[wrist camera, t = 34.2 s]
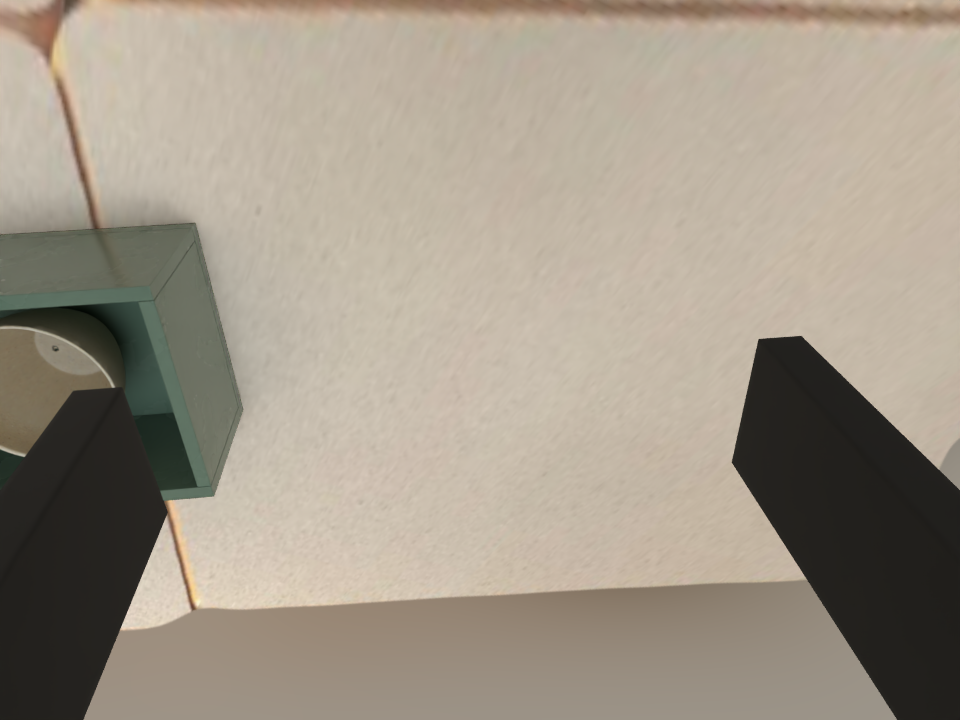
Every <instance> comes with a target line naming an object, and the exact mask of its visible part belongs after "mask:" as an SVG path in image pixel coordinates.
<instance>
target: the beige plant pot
mask: <svg viewBox="0 0 960 720" xmlns="http://www.w3.org/2000/svg"><path fill="white" fill-rule="evenodd" d="M55 349H58V350H57V351H55ZM125 386H126V379H125V368H124V362H123V358H122V355H121V351H120V348H119V346H118V344H117V342H116V340H115V338H114V336H113V335H112V333H111V332H110V331H109V329H108V328H107V327H106V326H105V325H104V324H103V323H102V322H101V321H99V320H98V319H96V318H95V317H93V316H91V315H89V314H87V313H84V312H81V311H77V310H72V309H63V308H43V309H34V310H28V311H23V312H19V313H15V314H11V315H8V316H5V317H2V318H0V449H1V450H3V451H6V452H8V453H11V454H15V455H18V456H22V457H25V456H26V454H27V453H28V452H29V450H30V449H31V448H32V446H33V445H34V443H35V442H36V441H37V439H38V438H39V437H40V435H41V434H42V433H43V431H44V430H45V428H46V427H47V426H48V424H49V423H50V422H51V420H52V419H53V417H54V416H55V415H56V413H57V412H58V411H59V409H60V408H61V407H62V405H63V404H64V402H65V401H66V400H67V398H68V397H69V396H70V394H71V393H72V392H73V391H75V390H88V389H102V388H115V387H123V390H124V393H125Z"/></svg>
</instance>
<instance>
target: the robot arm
mask: <svg viewBox="0 0 960 720" xmlns="http://www.w3.org/2000/svg"><path fill="white" fill-rule="evenodd" d="M732 464H733V465H734V467H735V468H736V470H737V471H738V473H739V474H740V476H741V478H742V479H743V481H744V482H745V484H746V485H747V487H748V488H749V490H750V492H751V493H752V495H753V496H754V498H755V499H756V501H757V502H758V504H759V506H760V507H761V509H762V510H763V512H764V513H765V515H766V516H767V518H768V520H769V521H770V523H771V524H772V526H773V527H774V529H775V530H776V532H777V534H778V535H779V537H780V538H781V540H782V541H783V543H784V544H785V546H786V548H787V549H788V551H789V552H790V554H791V555H792V557H793V558H794V560H795V562H796V563H797V565H798V566H799V568H800V569H801V571H802V572H803V574H804V576H805V577H806V579H807V580H808V582H809V583H810V585H811V586H812V588H813V590H814V591H815V593H816V594H817V596H818V597H819V599H820V600H821V602H822V604H823V605H824V606H825V608H826V610H827V611H828V613H829V614H830V616H831V618H832V619H833V621H834V622H835V624H836V625H837V627H838V628H839V630H840V632H841V633H842V634H843V636H844V638H845V639H846V641H847V642H848V644H849V646H850V647H851V649H852V650H853V652H854V653H855V655H856V656H857V658H858V660H859V661H860V663H861V664H862V666H863V667H864V669H865V670H866V672H867V673H868V675H869V677H870V678H871V680H872V681H873V683H874V684H875V686H876V687H877V689H878V690H879V692H880V694H881V695H882V697H883V698H884V700H885V701H886V703H887V705H888V706H889V708H890V709H891V711H892V712H893V714H894V715H895V717H896V718H897V720H960V490H959V489H958V488H957V487H956V486H955V485H954V484H953V483H952V482H951V481H950V480H949V479H948V478H947V477H946V476H945V475H944V474H943V473H942V472H941V471H940V470H938V469H937V468H936V467H935V466H934V465H933V464H932V463H931V462H930V461H929V460H928V459H927V458H926V457H925V456H924V455H923V454H922V453H921V452H920V451H919V450H918V449H917V448H916V447H915V446H914V445H913V444H912V443H911V442H910V441H909V440H908V439H907V438H906V437H905V436H904V435H902V434H901V433H900V432H899V431H898V430H897V429H896V428H895V427H894V426H893V425H892V424H891V423H890V422H889V421H888V420H887V419H886V418H885V417H884V416H883V415H882V414H881V413H880V412H879V411H878V410H877V409H876V408H875V407H874V406H873V405H872V404H871V403H870V402H869V401H868V400H866V399H865V398H864V397H863V396H862V395H861V394H860V393H859V392H858V391H857V390H856V389H855V388H854V387H853V386H852V385H851V384H850V383H849V382H848V381H847V380H846V379H845V378H844V377H843V376H842V375H841V374H840V373H839V372H838V371H837V370H836V369H835V368H834V367H833V366H832V365H830V364H829V363H828V362H827V361H826V360H825V359H824V358H823V357H822V356H821V355H820V354H819V353H818V352H817V351H816V350H815V349H814V348H813V347H812V346H811V345H810V344H809V343H808V342H807V341H806V340H805V339H804V338H803V337H802V336H794V337H780V338H767V339H759V340H758V344H757V349H756V353H755V358H754V363H753V367H752V372H751V376H750V381H749V386H748V390H747V395H746V399H745V404H744V409H743V413H742V418H741V422H740V427H739V432H738V436H737V441H736V445H735V450H734V455H733V459H732ZM167 513H168V512H167V509H166V506H165V503H164V501H163V498H162V495H161V492H160V489H159V487H158V484H157V481H156V478H155V476H154V473H153V470H152V467H151V465H150V462H149V459H148V456H147V454H146V451H145V448H144V445H143V443H142V440H141V437H140V434H139V431H138V429H137V426H136V423H135V420H134V418H133V415H132V412H131V409H130V407H129V404H128V401H127V398H126V396H125V393H124V390H123V387H115V388H102V389H88V390H75V391H73V392H72V393H71V394H70V396H69V397H68V398H67V400H66V401H65V402H64V404H63V405H62V407H61V408H60V409H59V411H58V412H57V413H56V415H55V416H54V417H53V419H52V420H51V422H50V423H49V424H48V426H47V427H46V428H45V430H44V431H43V433H42V434H41V435H40V437H39V438H38V439H37V441H36V442H35V443H34V445H33V446H32V448H31V449H30V450H29V452H28V453H27V454H26V456H25V457H24V458H23V460H22V461H21V463H20V464H19V465H18V467H17V468H16V469H15V471H14V472H13V474H12V475H11V476H10V478H9V479H8V480H7V482H6V483H5V484H4V486H3V487H2V489H1V490H0V720H83V719H84V717H85V714H86V712H87V709H88V707H89V704H90V702H91V699H92V697H93V695H94V692H95V690H96V687H97V685H98V682H99V680H100V677H101V675H102V673H103V670H104V668H105V665H106V662H107V660H108V658H109V655H110V653H111V650H112V648H113V645H114V643H115V641H116V638H117V636H118V633H119V631H120V628H121V626H122V623H123V621H124V619H125V616H126V614H127V611H128V609H129V606H130V604H131V601H132V599H133V596H134V594H135V592H136V589H137V587H138V584H139V582H140V579H141V577H142V574H143V572H144V570H145V567H146V565H147V562H148V560H149V557H150V555H151V552H152V550H153V547H154V545H155V543H156V540H157V538H158V535H159V533H160V530H161V528H162V525H163V523H164V520H165V518H166V516H167Z"/></svg>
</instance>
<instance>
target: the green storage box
mask: <svg viewBox="0 0 960 720" xmlns="http://www.w3.org/2000/svg"><path fill="white" fill-rule="evenodd" d="M43 308H63V309H72V310H77V311H81V312H84V313H87V314H89V315H91V316H93V317H95V318H96V319H98V320H99V321H101V322H102V323H103V324H104V325H105V326H106V327H107V328H108V329H109V331H110V332H111V333H112V335H113V336H114V338H115V340H116V342H117V344H118V346H119V348H120V351H121V355H122V358H123V362H124V368H125V379H126V386H125V396H126V398H127V401H128V404H129V407H130V409H131V412H132V415H133V418H134V420H135V423H136V426H137V429H138V431H139V434H140V437H141V440H142V443H143V445H144V448H145V451H146V454H147V456H148V459H149V462H150V465H151V467H152V470H153V473H154V476H155V478H156V481H157V484H158V487H159V489H160V492H161V495H162V498H163V501H167V500H179V499H190V498H201V497H213V496H214V495H215V492H216V489H217V486H218V483H219V480H220V477H221V474H222V471H223V468H224V465H225V462H226V459H227V456H228V453H229V450H230V447H231V444H232V441H233V438H234V435H235V432H236V429H237V426H238V424H239V421H240V418H241V415H242V412H243V408H242V404H241V400H240V396H239V392H238V388H237V385H236V381H235V377H234V373H233V369H232V365H231V361H230V357H229V353H228V349H227V346H226V342H225V338H224V334H223V330H222V326H221V322H220V318H219V314H218V310H217V306H216V303H215V299H214V295H213V291H212V287H211V283H210V279H209V275H208V271H207V267H206V264H205V260H204V256H203V252H202V248H201V244H200V240H199V236H198V232H197V228H196V224H195V223H191V224H174V225H158V226H141V227H124V228H107V229H90V230H73V231H56V232H39V233H22V234H5V235H0V318H2V317H5V316H8V315H11V314H15V313H19V312H23V311H28V310H34V309H43ZM57 350H58V349H55V351H57ZM23 458H24V457H22V456H18V455H15V454H11V453H8V452H6V451H3V450H1V449H0V490H1V489H2V487H3V486H4V484H5V483H6V482H7V480H8V479H9V478H10V476H11V475H12V474H13V472H14V471H15V469H16V468H17V467H18V465H19V464H20V463H21V461H22V460H23Z"/></svg>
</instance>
